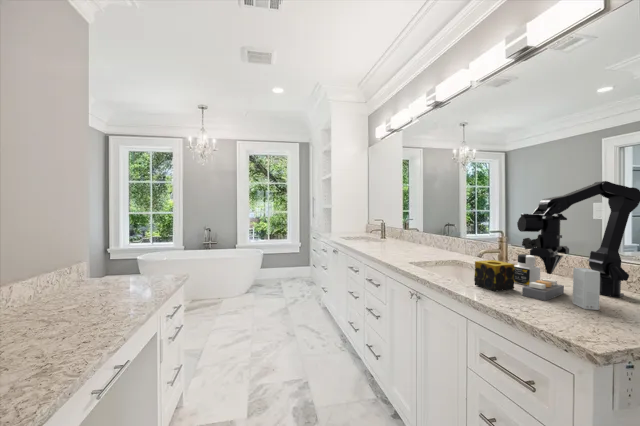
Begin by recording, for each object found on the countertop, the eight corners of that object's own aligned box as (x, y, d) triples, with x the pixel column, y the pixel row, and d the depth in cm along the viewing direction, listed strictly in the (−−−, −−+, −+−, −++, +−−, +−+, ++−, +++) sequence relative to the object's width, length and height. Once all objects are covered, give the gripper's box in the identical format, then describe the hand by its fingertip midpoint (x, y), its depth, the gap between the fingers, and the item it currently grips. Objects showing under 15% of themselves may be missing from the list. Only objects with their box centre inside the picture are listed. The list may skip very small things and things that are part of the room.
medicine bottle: (511, 282, 127) (512, 254, 127) (522, 280, 130) (523, 253, 130) (529, 286, 120) (529, 256, 120) (540, 284, 123) (540, 255, 123)
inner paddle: (544, 282, 114) (544, 278, 114) (557, 284, 110) (557, 280, 110) (541, 283, 112) (541, 279, 112) (554, 285, 109) (554, 281, 109)
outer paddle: (532, 285, 108) (532, 281, 108) (545, 288, 105) (545, 284, 105) (529, 286, 107) (529, 282, 107) (542, 289, 104) (542, 285, 104)
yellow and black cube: (492, 283, 125) (492, 259, 125) (515, 289, 115) (515, 264, 115) (473, 285, 122) (473, 260, 122) (494, 291, 112) (495, 265, 112)
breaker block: (541, 289, 116) (541, 281, 116) (563, 293, 110) (563, 285, 110) (522, 295, 107) (522, 287, 107) (545, 300, 101) (545, 292, 101)
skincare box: (599, 310, 92) (600, 271, 92) (584, 309, 93) (585, 271, 93) (586, 304, 98) (587, 268, 98) (571, 303, 99) (572, 267, 99)
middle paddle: (538, 283, 111) (538, 280, 111) (551, 286, 108) (551, 282, 108) (535, 284, 110) (535, 281, 110) (548, 287, 106) (548, 283, 106)
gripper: (536, 229, 123) (535, 267, 123) (514, 231, 113) (513, 272, 113) (570, 231, 114) (569, 272, 114) (549, 233, 103) (548, 278, 104)
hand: (549, 273), depth 111 cm, fingers closed
